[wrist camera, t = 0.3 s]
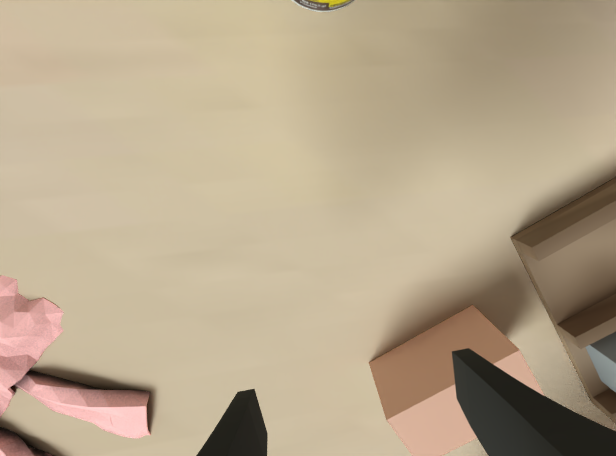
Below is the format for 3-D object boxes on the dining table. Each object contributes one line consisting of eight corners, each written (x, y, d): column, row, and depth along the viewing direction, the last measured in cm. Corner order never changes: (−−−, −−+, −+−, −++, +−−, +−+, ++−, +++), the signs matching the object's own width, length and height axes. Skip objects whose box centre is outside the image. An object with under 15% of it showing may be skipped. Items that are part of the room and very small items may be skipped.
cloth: (-9, 225, 21) (-48, 236, 18) (258, 416, 25) (255, 445, 23) (-158, 426, 24) (-207, 457, 22) (100, 563, 28) (83, 601, 26)
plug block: (496, 347, 23) (548, 402, 18) (395, 400, 24) (420, 466, 19) (471, 304, 22) (519, 350, 17) (368, 361, 23) (386, 420, 18)
